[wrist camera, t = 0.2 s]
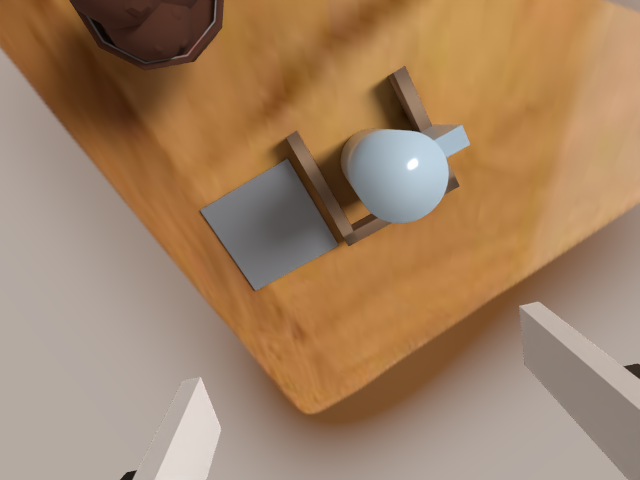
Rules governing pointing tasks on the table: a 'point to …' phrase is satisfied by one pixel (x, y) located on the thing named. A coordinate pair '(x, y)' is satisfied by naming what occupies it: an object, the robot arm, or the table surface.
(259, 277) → the coaster
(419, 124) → the brown wooden u-shaped frame
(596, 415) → the robot arm
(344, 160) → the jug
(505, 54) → the table surface
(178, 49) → the ice cream bowl
